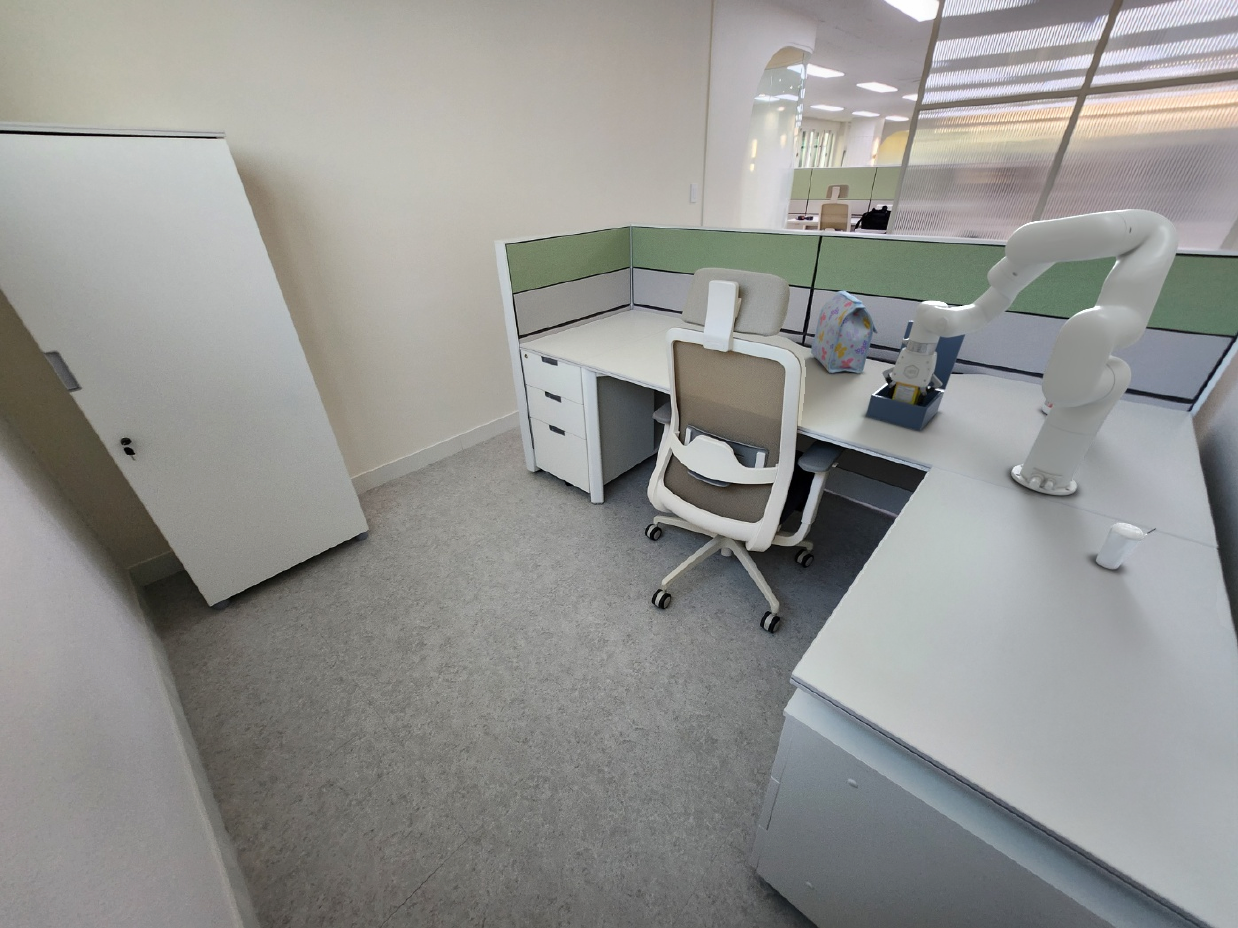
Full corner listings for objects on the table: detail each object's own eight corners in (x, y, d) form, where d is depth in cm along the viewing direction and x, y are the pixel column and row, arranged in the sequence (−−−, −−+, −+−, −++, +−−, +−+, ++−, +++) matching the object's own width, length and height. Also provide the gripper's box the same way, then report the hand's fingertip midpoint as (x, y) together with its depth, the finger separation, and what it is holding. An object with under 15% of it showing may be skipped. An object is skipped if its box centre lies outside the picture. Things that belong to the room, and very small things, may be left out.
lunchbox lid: (966, 329, 139) (970, 327, 143) (908, 321, 149) (913, 318, 152) (944, 389, 148) (949, 386, 152) (891, 378, 158) (896, 374, 161)
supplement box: (914, 413, 151) (924, 380, 145) (908, 419, 147) (918, 386, 141) (893, 408, 154) (903, 375, 148) (887, 414, 150) (897, 381, 145)
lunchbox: (919, 431, 142) (927, 408, 138) (865, 416, 151) (871, 395, 148) (937, 412, 152) (944, 390, 149) (885, 399, 162) (891, 379, 158)
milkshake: (1130, 576, 90) (1159, 535, 85) (1093, 566, 93) (1119, 526, 88) (1124, 562, 94) (1152, 521, 88) (1089, 553, 96) (1114, 513, 91)
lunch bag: (871, 374, 182) (889, 302, 168) (826, 375, 182) (841, 303, 169) (847, 355, 201) (862, 289, 187) (807, 355, 202) (819, 290, 188)
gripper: (885, 343, 142) (870, 398, 152) (951, 355, 132) (931, 413, 141) (894, 337, 147) (879, 391, 156) (959, 349, 136) (939, 406, 145)
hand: (904, 401), depth 148 cm, fingers open, 7 cm apart
